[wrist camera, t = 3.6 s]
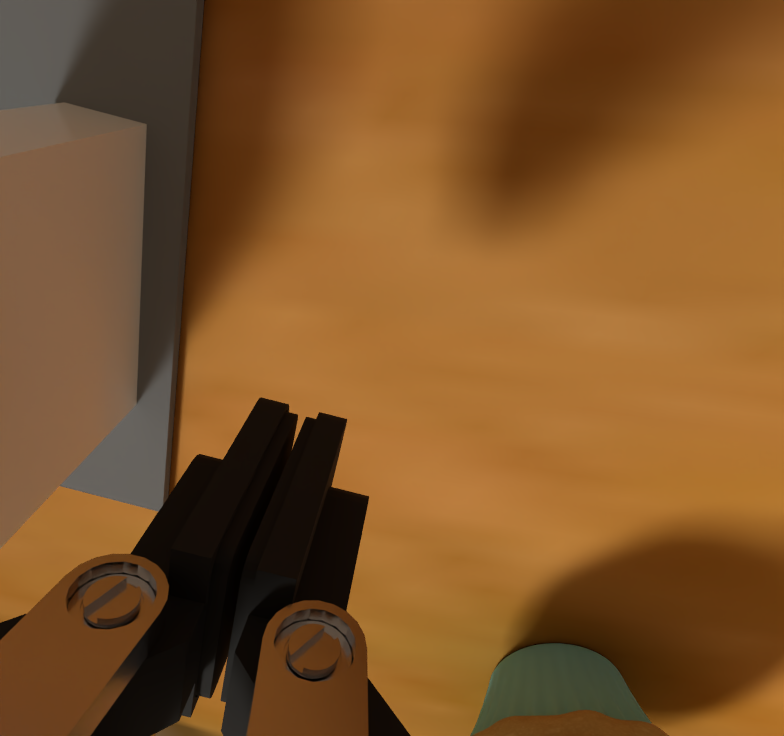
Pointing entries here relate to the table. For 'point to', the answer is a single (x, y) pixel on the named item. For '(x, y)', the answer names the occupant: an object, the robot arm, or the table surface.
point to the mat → (161, 190)
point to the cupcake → (560, 696)
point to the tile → (65, 293)
